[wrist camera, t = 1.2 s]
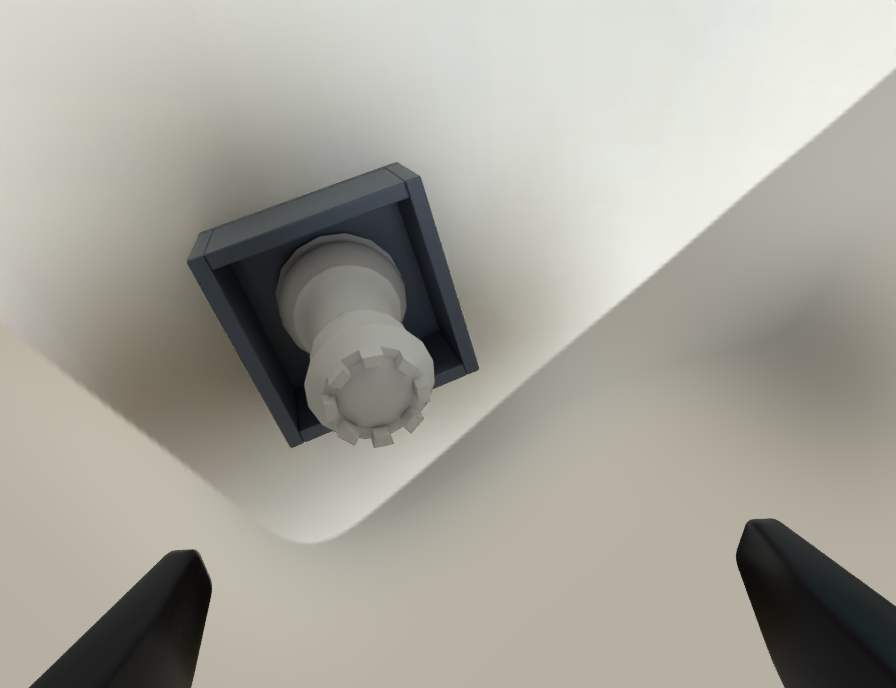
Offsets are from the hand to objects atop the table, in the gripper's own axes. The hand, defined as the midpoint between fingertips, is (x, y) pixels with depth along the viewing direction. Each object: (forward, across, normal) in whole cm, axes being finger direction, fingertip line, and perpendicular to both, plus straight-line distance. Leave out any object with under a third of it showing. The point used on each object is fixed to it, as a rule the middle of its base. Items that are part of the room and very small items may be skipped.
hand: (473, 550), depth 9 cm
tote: (+12, +4, +1) cm, 13 cm away
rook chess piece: (+12, +4, +1) cm, 13 cm away
